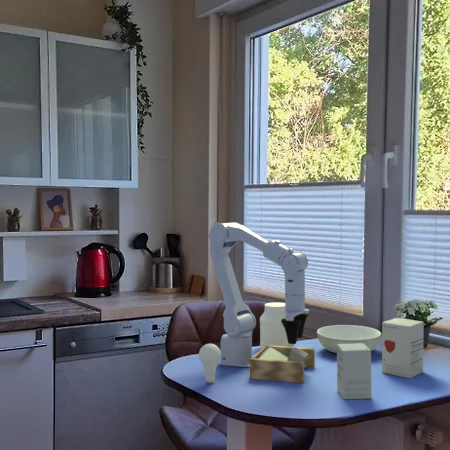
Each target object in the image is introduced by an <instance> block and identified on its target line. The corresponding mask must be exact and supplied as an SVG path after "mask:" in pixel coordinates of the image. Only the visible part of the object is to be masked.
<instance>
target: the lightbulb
mask: <svg viewBox="0 0 450 450" xmlns="http://www.w3.org/2000/svg"><path fill="white" fill-rule="evenodd" d="M198 357H199V360H200V363H201V364H202V367H203V370H204V372H203V373H204V375H205V381H206V382H207V383H208V384H212V383H214V382H215V380H216V373H217V367H218V364H219V362H220V361H221V350H220V348H219V346H217V345H216V344H214V343H207V344H204V345H203V346H202V347H200V349H199V352H198Z"/></svg>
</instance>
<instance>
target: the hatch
mask: <svg viewBox="0 0 450 450" xmlns="http://www.w3.org/2000/svg"><path fill="white" fill-rule="evenodd" d="M288 357H289V356H287V355H285V354H283V353H281V352H279V351H277V350H275V349H273V348H271V347H268V348H267V349H266V350H265V351H264V352H263V353H262V354H261V355H259V356H258V357H257V358H259V359H272V360H284V361H287V360H288ZM305 366H306V365H304V369H305V368H306V367H305Z"/></svg>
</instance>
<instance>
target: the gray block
mask: <svg viewBox="0 0 450 450" xmlns="http://www.w3.org/2000/svg"><path fill="white" fill-rule="evenodd" d="M296 347H297V346H294V348H293V349H292V350H291V353H290V355H289V357H288V360H287V361H296V362H304V363H305V360H306V358H307V356H308V353H306V352H304V351H302V350H300V349H298V348H296Z"/></svg>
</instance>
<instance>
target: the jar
mask: <svg viewBox="0 0 450 450" xmlns="http://www.w3.org/2000/svg"><path fill="white" fill-rule="evenodd" d="M284 309H285V302H278V301H277V302H267V303H264V311H263V313H262V314H261V316H260V317H259V324H260V325H259V329H260V330H259V333H260V337H259V338H260V339H259V340H260V341H259V342H260V343H259V348H260V350H261V349H262V348H263V347H264V346H265V345H274V346H287V347H295V344H289V343H288V340H287V335H286V331H285V328H284V326H283V324H282V322H281V319H283V318H285V319H286V313H285V311H284Z"/></svg>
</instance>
